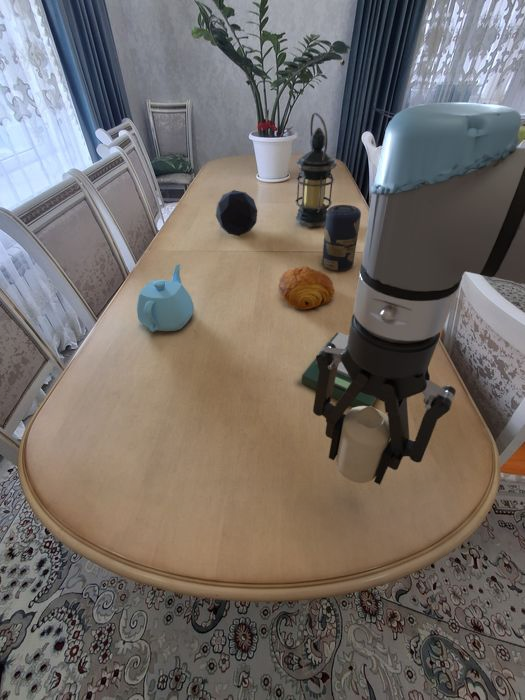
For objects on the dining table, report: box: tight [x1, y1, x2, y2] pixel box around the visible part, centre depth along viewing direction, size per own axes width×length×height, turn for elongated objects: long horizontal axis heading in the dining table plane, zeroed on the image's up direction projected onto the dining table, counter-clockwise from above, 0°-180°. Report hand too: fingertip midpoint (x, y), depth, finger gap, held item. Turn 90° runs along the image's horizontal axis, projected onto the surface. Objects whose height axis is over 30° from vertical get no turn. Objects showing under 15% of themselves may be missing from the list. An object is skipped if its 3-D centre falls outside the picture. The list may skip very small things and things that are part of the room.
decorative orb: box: [215, 189, 258, 237], centre depth 122 cm, size 14×15×15 cm
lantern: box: [294, 112, 337, 228], centre depth 120 cm, size 14×13×35 cm
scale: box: [301, 332, 377, 408], centre depth 71 cm, size 14×16×3 cm
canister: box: [321, 204, 362, 272], centre depth 101 cm, size 10×10×18 cm
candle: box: [335, 405, 390, 484], centre depth 43 cm, size 6×6×10 cm
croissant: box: [278, 266, 335, 310], centre depth 92 cm, size 14×16×8 cm
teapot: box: [136, 264, 195, 333], centre depth 85 cm, size 13×11×18 cm
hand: (357, 462), depth 46 cm, fingers closed on candle, 5 cm apart
